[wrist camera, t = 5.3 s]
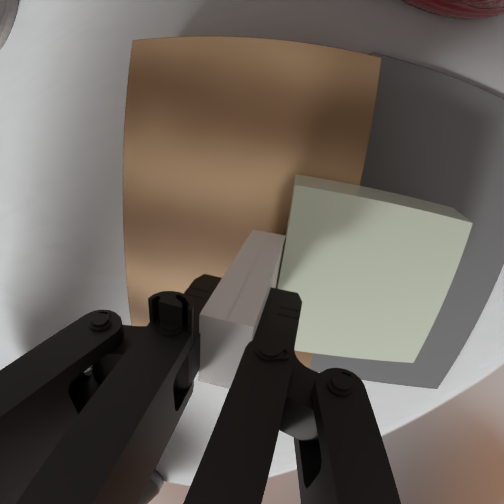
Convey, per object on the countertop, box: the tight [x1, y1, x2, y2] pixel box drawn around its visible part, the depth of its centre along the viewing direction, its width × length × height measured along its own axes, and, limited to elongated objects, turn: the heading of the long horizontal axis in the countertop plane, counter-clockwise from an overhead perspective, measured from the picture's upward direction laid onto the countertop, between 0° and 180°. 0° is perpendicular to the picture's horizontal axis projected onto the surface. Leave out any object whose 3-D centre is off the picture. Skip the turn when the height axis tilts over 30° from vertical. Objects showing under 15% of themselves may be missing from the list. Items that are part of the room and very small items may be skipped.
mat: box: [309, 53, 504, 389], centre depth 18 cm, size 22×12×1 cm, turn 173°
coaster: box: [277, 174, 473, 363], centre depth 14 cm, size 8×8×2 cm
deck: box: [123, 36, 381, 371], centre depth 18 cm, size 20×12×4 cm, turn 173°
